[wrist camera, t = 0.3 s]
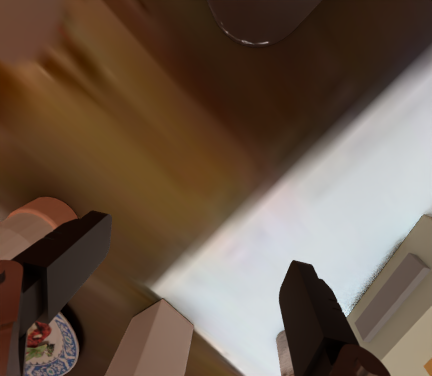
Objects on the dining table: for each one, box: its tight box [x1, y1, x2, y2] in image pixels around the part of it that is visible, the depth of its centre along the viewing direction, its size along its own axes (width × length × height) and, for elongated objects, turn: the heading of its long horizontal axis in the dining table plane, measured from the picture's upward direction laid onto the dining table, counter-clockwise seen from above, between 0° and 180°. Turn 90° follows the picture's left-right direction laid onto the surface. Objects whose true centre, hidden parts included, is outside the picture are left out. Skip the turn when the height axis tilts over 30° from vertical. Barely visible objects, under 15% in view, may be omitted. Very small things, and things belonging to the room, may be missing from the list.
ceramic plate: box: [25, 312, 79, 376], centre depth 41 cm, size 26×26×3 cm
